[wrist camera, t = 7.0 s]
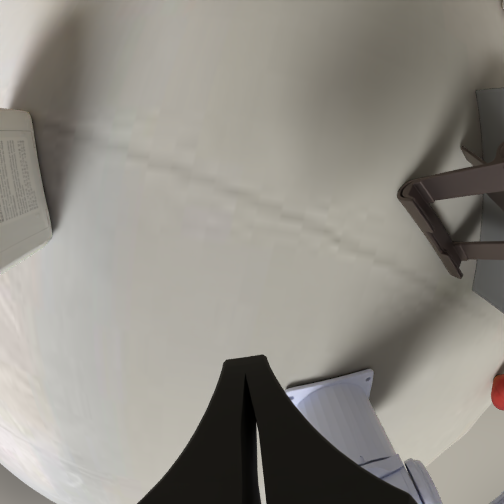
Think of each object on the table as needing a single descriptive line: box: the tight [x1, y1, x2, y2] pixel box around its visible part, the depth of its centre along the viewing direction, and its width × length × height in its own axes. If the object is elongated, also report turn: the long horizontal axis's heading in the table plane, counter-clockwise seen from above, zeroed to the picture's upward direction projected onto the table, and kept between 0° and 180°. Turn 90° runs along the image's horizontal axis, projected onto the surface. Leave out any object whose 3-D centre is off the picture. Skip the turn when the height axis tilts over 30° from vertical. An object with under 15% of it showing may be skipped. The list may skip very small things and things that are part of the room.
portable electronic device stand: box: [397, 142, 504, 279], centre depth 14 cm, size 9×8×8 cm
